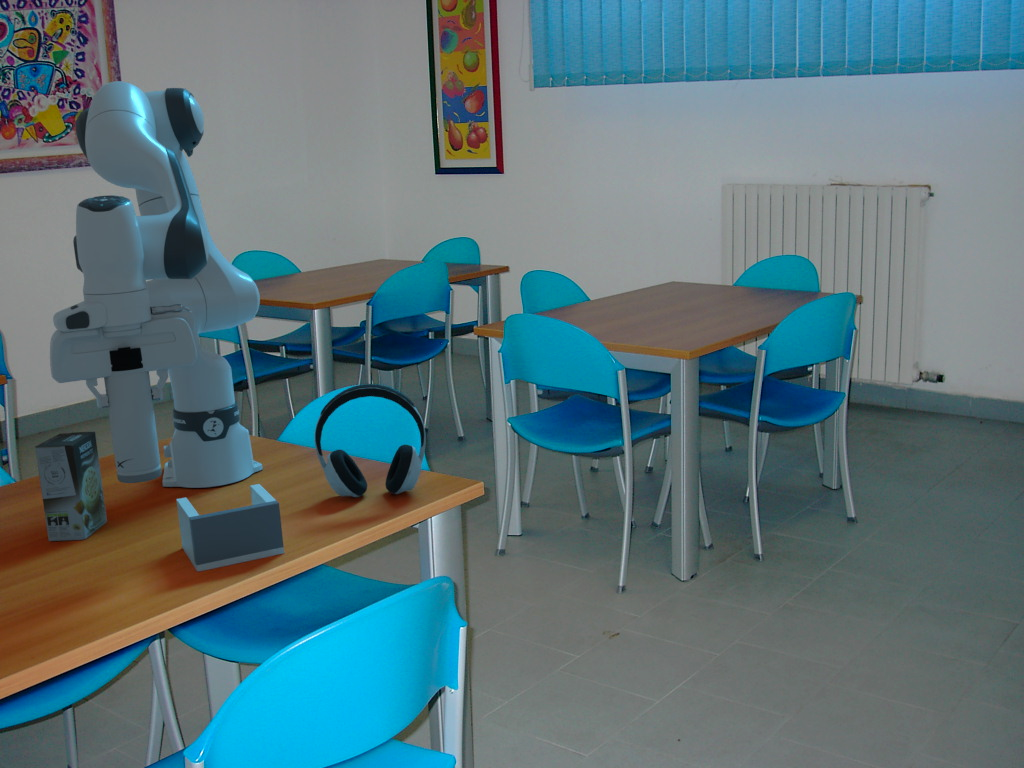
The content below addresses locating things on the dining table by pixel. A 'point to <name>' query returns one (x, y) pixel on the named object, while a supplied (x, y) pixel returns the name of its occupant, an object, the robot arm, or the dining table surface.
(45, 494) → the coffee box
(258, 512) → the u-shaped bracket
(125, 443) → the travel mug
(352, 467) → the headphones
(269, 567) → the dining table surface
